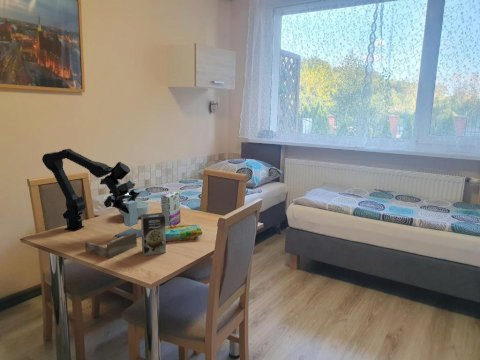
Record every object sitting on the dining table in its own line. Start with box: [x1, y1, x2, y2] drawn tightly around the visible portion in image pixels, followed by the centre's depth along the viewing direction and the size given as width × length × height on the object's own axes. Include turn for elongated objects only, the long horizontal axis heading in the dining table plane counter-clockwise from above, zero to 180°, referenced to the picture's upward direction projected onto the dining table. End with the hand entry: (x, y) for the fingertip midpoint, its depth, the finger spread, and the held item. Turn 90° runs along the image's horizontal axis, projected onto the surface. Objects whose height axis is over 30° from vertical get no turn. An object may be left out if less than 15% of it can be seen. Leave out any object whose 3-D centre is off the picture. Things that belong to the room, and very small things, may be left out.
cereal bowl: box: [117, 200, 150, 219], centre depth 197 cm, size 17×17×7 cm
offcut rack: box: [84, 233, 138, 259], centre depth 152 cm, size 14×15×6 cm
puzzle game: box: [165, 223, 203, 242], centre depth 168 cm, size 12×5×20 cm
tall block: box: [123, 200, 139, 228], centre depth 168 cm, size 4×5×11 cm
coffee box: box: [140, 212, 167, 256], centre depth 149 cm, size 9×6×16 cm
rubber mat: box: [114, 227, 142, 239], centre depth 170 cm, size 11×11×1 cm
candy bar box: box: [160, 191, 181, 226], centre depth 183 cm, size 11×5×16 cm, turn 162°
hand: (132, 211), depth 167 cm, fingers closed on tall block, 5 cm apart
